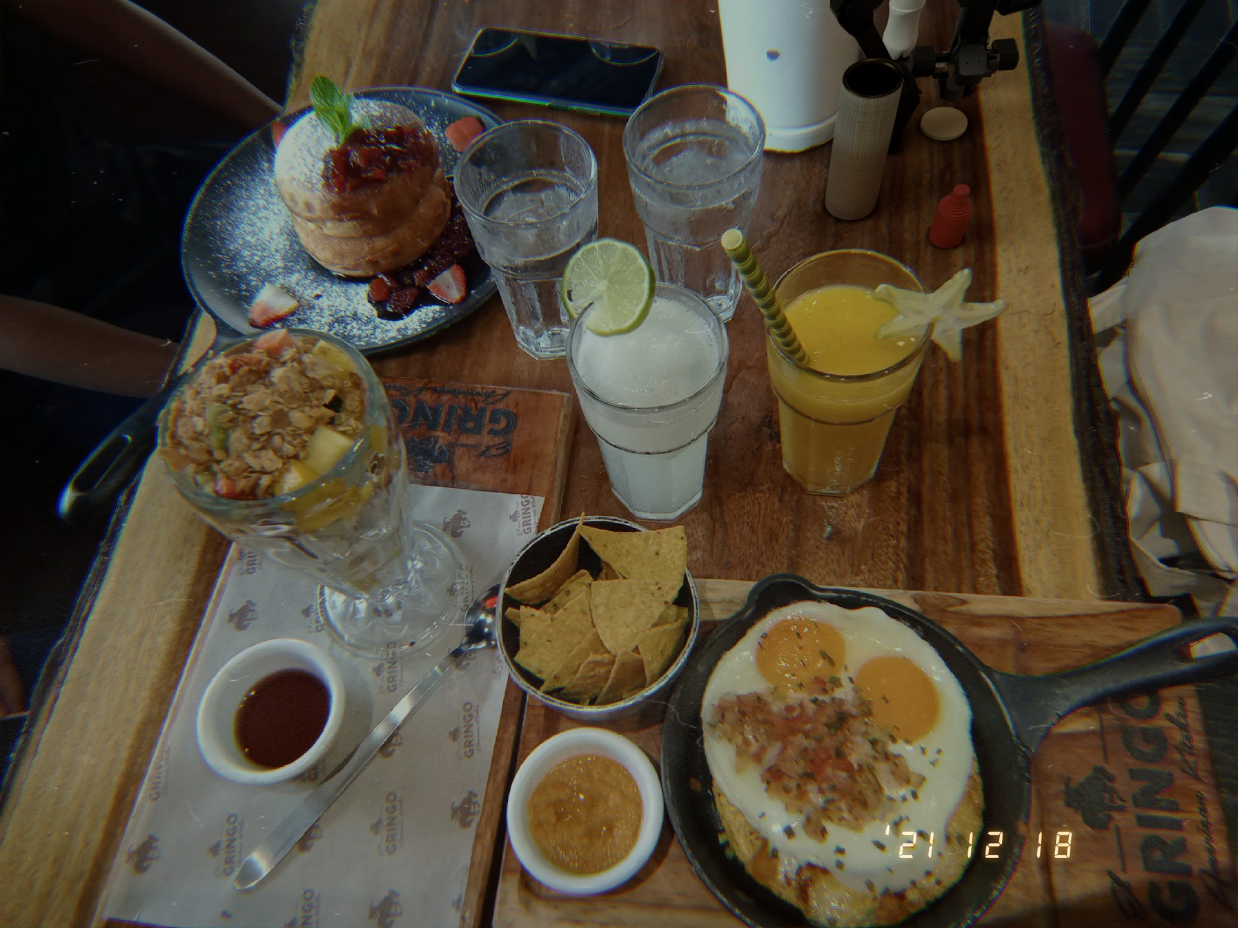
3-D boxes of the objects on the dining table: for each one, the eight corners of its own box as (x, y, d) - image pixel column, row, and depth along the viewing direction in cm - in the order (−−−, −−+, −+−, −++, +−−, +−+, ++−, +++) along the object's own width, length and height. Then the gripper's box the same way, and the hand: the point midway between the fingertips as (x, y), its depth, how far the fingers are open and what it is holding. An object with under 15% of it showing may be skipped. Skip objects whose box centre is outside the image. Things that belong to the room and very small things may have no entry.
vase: (878, 186, 147) (907, 58, 122) (872, 223, 143) (900, 99, 118) (828, 182, 149) (846, 56, 124) (821, 219, 145) (838, 95, 121)
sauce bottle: (930, 249, 138) (946, 203, 128) (926, 225, 141) (941, 178, 131) (964, 247, 137) (982, 201, 127) (959, 223, 140) (977, 176, 130)
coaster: (923, 142, 150) (923, 139, 150) (918, 112, 154) (919, 108, 153) (969, 139, 149) (970, 135, 148) (963, 108, 153) (964, 105, 152)
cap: (945, 105, 145) (949, 92, 142) (937, 92, 146) (941, 80, 144) (965, 99, 144) (969, 87, 142) (957, 87, 146) (961, 74, 144)
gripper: (924, 55, 130) (906, 129, 144) (1037, 45, 127) (1008, 122, 141) (917, 15, 135) (900, 91, 148) (1026, 5, 132) (998, 83, 145)
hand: (951, 97), depth 146 cm, fingers closed on cap, 4 cm apart
